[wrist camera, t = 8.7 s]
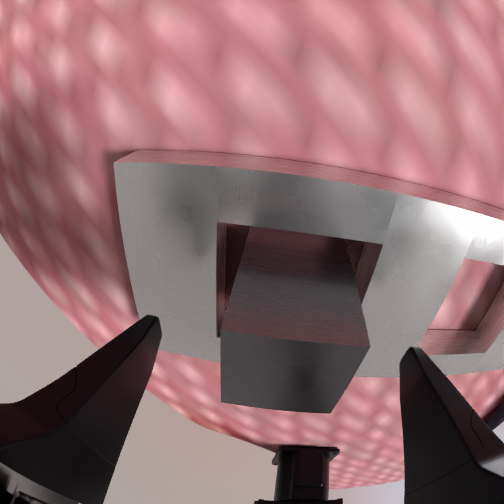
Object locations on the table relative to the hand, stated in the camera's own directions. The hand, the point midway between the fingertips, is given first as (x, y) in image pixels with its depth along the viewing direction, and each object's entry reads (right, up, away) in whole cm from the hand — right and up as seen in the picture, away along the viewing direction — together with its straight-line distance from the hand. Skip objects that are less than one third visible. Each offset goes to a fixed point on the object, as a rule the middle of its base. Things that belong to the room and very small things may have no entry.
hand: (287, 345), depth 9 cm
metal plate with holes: (+6, +2, +4) cm, 7 cm away
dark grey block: (+1, +2, +4) cm, 5 cm away
